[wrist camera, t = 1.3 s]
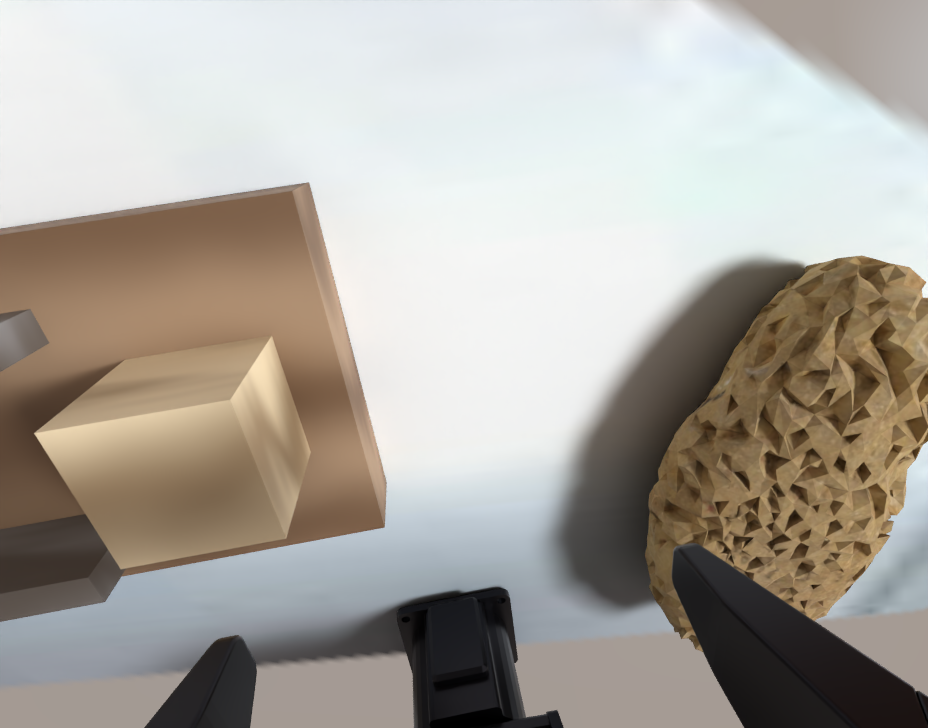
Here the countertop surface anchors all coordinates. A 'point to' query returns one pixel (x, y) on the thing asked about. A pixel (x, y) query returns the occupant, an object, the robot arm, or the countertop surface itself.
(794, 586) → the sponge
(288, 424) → the maple block
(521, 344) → the countertop surface
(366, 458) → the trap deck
